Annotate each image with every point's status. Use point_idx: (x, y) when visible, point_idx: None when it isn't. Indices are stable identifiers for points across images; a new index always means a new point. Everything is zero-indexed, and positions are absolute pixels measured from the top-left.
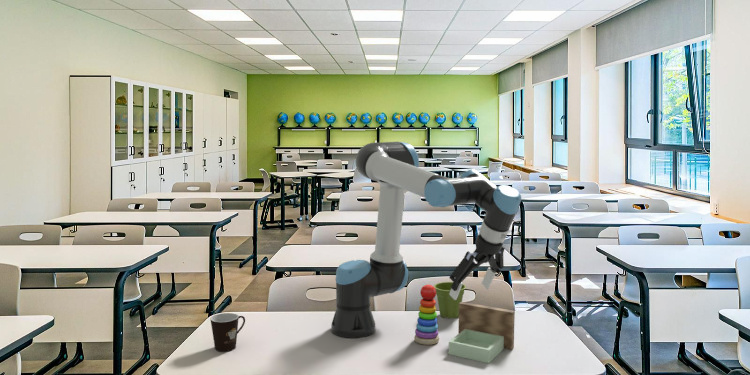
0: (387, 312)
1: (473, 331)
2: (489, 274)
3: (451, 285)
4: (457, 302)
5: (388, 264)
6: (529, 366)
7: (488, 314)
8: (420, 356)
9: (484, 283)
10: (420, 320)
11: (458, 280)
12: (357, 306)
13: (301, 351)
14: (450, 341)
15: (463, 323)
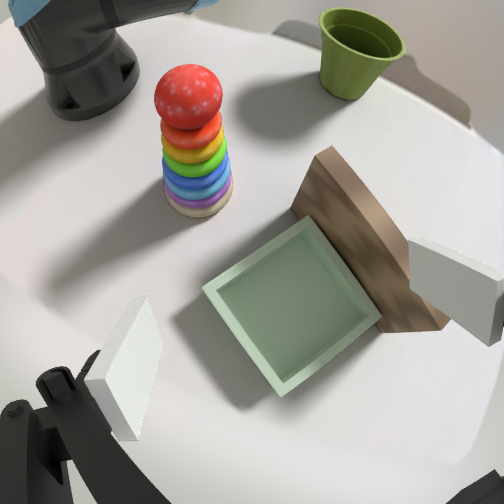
0: (216, 27)
1: (321, 244)
2: (469, 302)
3: (375, 25)
4: (363, 77)
5: None
6: (356, 436)
7: (381, 260)
8: (128, 272)
9: (418, 263)
10: (163, 162)
11: (66, 471)
12: (54, 67)
13: None
14: (206, 288)
15: (310, 201)
